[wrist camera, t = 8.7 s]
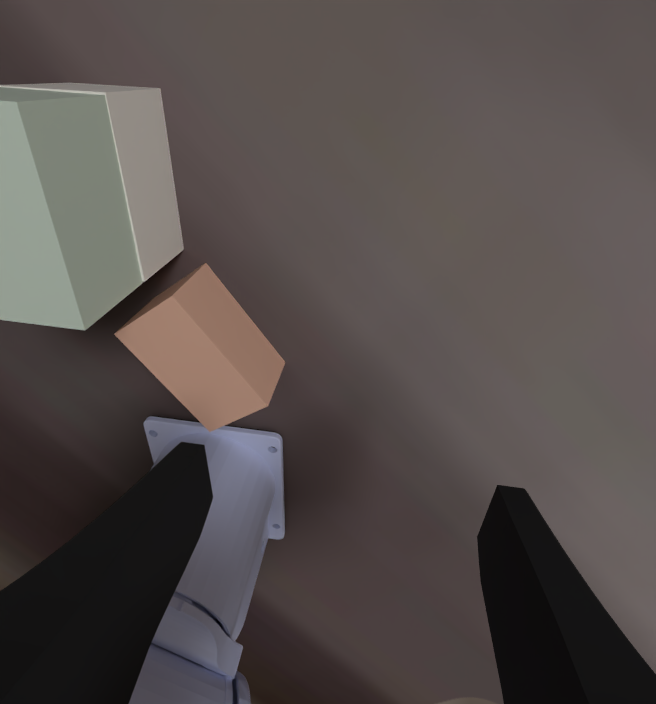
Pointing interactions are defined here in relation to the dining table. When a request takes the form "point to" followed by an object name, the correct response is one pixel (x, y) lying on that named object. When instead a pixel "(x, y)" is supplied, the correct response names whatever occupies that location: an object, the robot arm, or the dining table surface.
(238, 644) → the robot arm
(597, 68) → the dining table surface
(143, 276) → the cream brick
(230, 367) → the terracotta brick
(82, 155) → the sage brick
